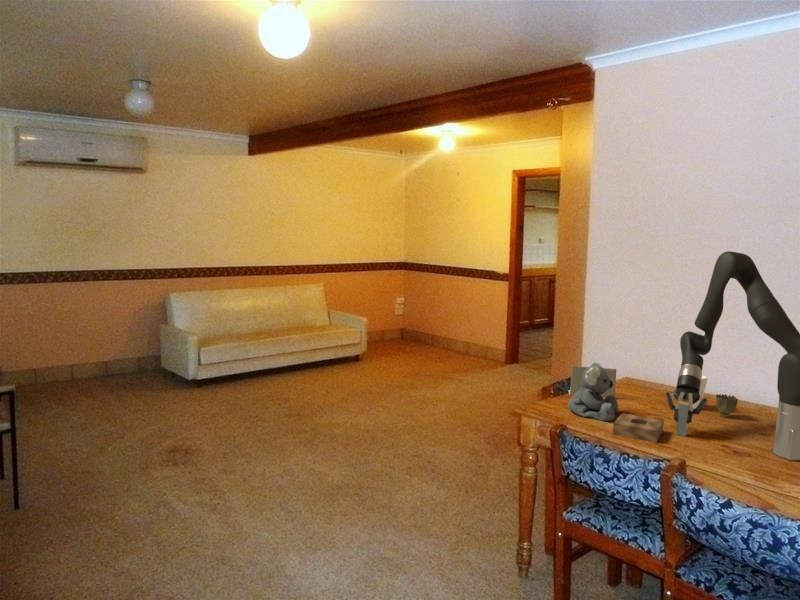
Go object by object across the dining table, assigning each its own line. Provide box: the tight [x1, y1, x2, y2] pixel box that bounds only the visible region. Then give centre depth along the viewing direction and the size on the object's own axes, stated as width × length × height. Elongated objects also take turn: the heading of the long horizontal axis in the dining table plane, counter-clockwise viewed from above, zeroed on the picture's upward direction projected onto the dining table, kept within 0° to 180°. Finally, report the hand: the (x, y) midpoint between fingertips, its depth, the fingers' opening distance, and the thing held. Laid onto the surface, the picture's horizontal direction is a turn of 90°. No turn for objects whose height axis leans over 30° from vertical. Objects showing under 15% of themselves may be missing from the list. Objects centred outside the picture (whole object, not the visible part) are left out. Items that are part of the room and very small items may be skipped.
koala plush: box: [567, 361, 619, 422], centre depth 234 cm, size 17×18×20 cm
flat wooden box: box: [612, 412, 665, 443], centre depth 214 cm, size 14×14×4 cm
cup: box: [715, 393, 739, 418], centre depth 237 cm, size 8×7×8 cm
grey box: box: [567, 365, 617, 397], centre depth 264 cm, size 18×12×13 cm
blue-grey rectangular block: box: [676, 399, 690, 437], centre depth 213 cm, size 3×3×12 cm
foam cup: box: [693, 374, 708, 409], centre depth 247 cm, size 10×9×13 cm
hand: (682, 421), depth 211 cm, fingers closed on blue-grey rectangular block, 3 cm apart
